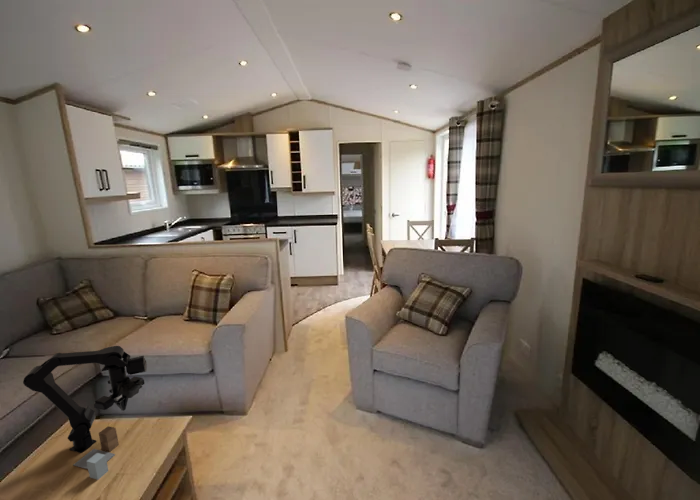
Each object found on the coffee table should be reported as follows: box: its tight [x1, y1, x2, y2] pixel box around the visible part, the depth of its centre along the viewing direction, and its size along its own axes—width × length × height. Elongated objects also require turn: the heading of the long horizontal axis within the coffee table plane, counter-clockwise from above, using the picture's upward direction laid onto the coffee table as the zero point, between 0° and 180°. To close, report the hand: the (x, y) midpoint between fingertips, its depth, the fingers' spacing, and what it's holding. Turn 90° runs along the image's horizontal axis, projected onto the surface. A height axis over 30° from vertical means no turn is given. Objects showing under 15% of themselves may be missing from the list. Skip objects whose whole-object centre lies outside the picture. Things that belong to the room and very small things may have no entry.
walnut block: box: [98, 425, 120, 453], centre depth 136 cm, size 4×4×8 cm
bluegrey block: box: [86, 453, 109, 481], centre depth 124 cm, size 4×4×7 cm
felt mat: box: [73, 448, 116, 470], centre depth 131 cm, size 11×8×1 cm
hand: (123, 410), depth 142 cm, fingers closed
